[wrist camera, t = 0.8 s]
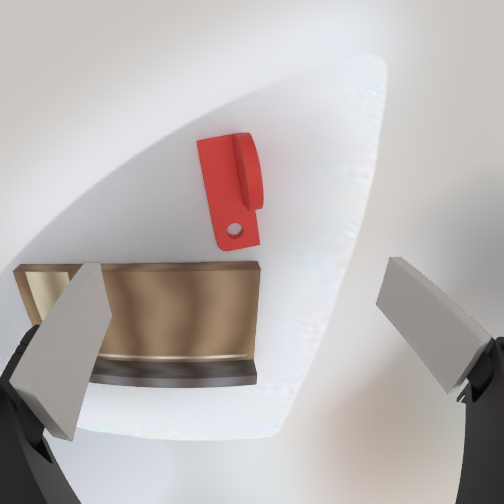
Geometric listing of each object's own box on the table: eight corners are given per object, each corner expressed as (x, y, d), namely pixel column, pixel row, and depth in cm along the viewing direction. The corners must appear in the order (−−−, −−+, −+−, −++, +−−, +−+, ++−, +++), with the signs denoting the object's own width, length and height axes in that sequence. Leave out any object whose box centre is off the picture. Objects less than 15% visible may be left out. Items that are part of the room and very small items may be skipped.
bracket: (197, 140, 26) (193, 143, 18) (241, 132, 26) (255, 132, 19) (218, 248, 31) (223, 285, 24) (258, 240, 31) (274, 275, 24)
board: (54, 353, 33) (44, 374, 29) (20, 264, 27) (1, 282, 22) (250, 358, 39) (256, 384, 34) (257, 261, 32) (266, 283, 27)
